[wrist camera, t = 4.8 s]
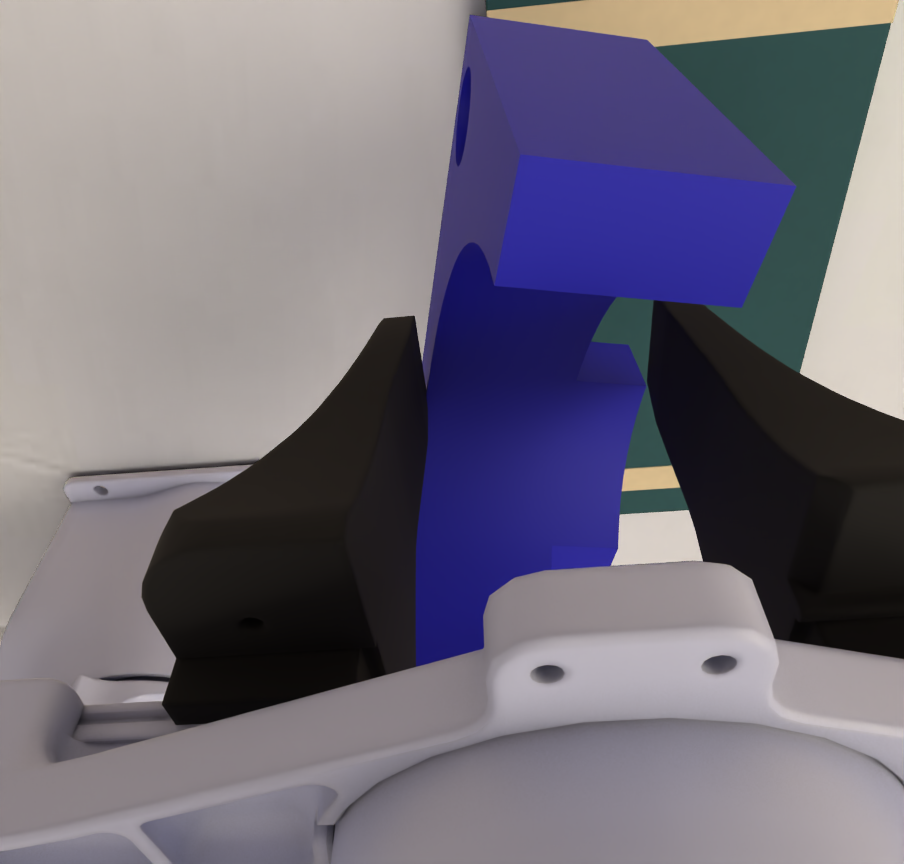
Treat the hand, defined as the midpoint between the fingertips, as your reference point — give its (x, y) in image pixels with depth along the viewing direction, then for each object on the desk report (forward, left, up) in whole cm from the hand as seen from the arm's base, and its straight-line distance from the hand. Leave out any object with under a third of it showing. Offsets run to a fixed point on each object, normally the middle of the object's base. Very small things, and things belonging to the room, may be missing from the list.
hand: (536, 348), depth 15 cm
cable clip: (0, -1, -2) cm, 2 cm away
